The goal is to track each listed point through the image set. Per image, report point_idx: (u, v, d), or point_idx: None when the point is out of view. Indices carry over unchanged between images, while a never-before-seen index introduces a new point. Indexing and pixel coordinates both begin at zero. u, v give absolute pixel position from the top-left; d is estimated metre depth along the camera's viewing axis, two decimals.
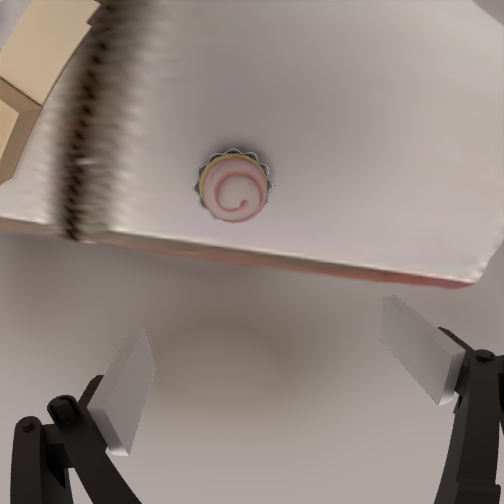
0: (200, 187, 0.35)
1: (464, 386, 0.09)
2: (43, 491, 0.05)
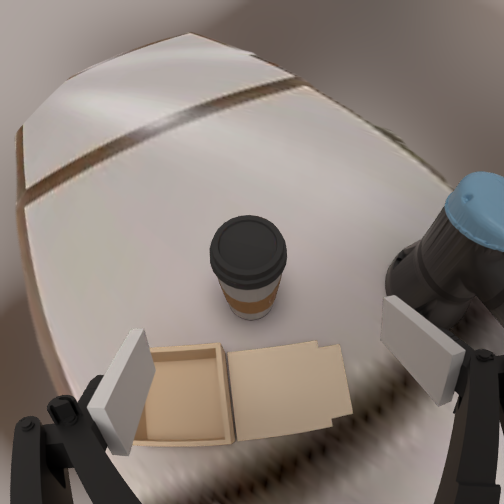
0: None
1: (464, 386, 0.09)
2: (43, 491, 0.05)
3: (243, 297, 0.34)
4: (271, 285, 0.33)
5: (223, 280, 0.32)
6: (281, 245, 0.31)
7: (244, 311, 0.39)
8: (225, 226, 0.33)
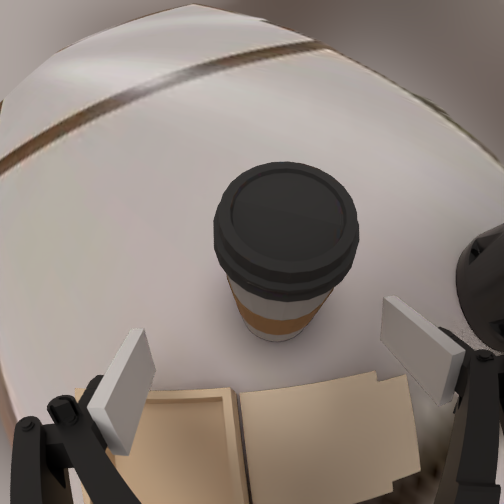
0: None
1: (464, 386, 0.09)
2: (43, 491, 0.05)
3: (275, 312, 0.18)
4: (328, 291, 0.17)
5: (240, 282, 0.16)
6: (353, 215, 0.16)
7: (269, 331, 0.23)
8: (244, 178, 0.17)
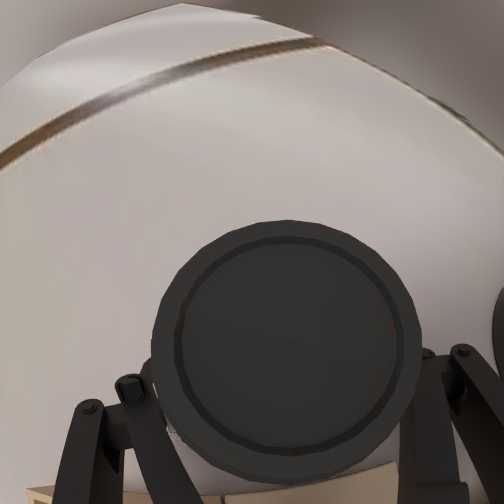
0: None
1: None
2: (94, 476, 0.06)
3: None
4: None
5: None
6: (416, 337, 0.07)
7: None
8: (205, 260, 0.09)
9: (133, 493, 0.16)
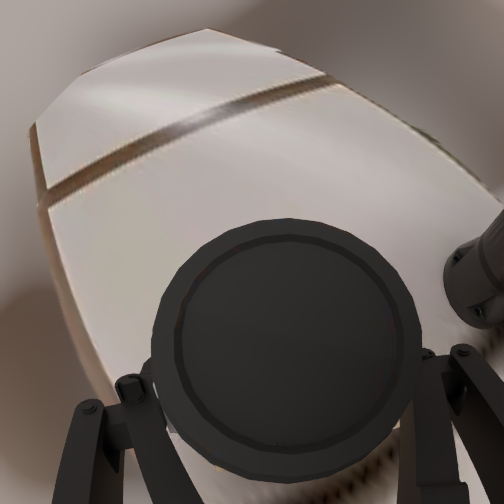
0: None
1: None
2: (94, 476, 0.06)
3: None
4: None
5: None
6: (416, 335, 0.07)
7: None
8: (205, 258, 0.09)
9: None
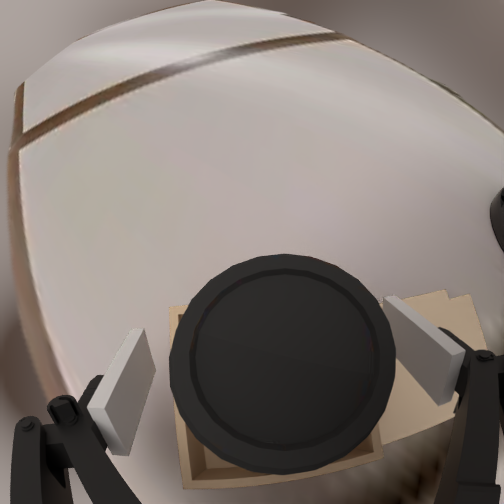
0: None
1: (464, 386, 0.09)
2: (43, 491, 0.05)
3: None
4: None
5: None
6: (391, 355, 0.09)
7: None
8: (213, 291, 0.10)
9: None
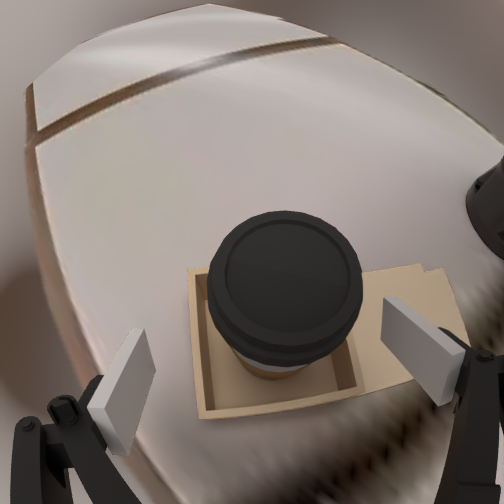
0: None
1: (464, 386, 0.09)
2: (43, 491, 0.05)
3: (274, 368, 0.17)
4: None
5: (237, 348, 0.15)
6: (358, 274, 0.14)
7: (267, 377, 0.22)
8: (239, 232, 0.16)
9: None
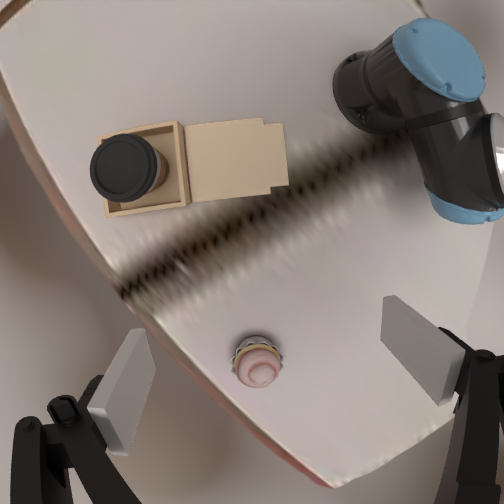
0: (241, 352, 0.49)
1: (464, 386, 0.09)
2: (43, 491, 0.05)
3: None
4: None
5: None
6: (146, 168, 0.31)
7: None
8: (99, 149, 0.30)
9: None
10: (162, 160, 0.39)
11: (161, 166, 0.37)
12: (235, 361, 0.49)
